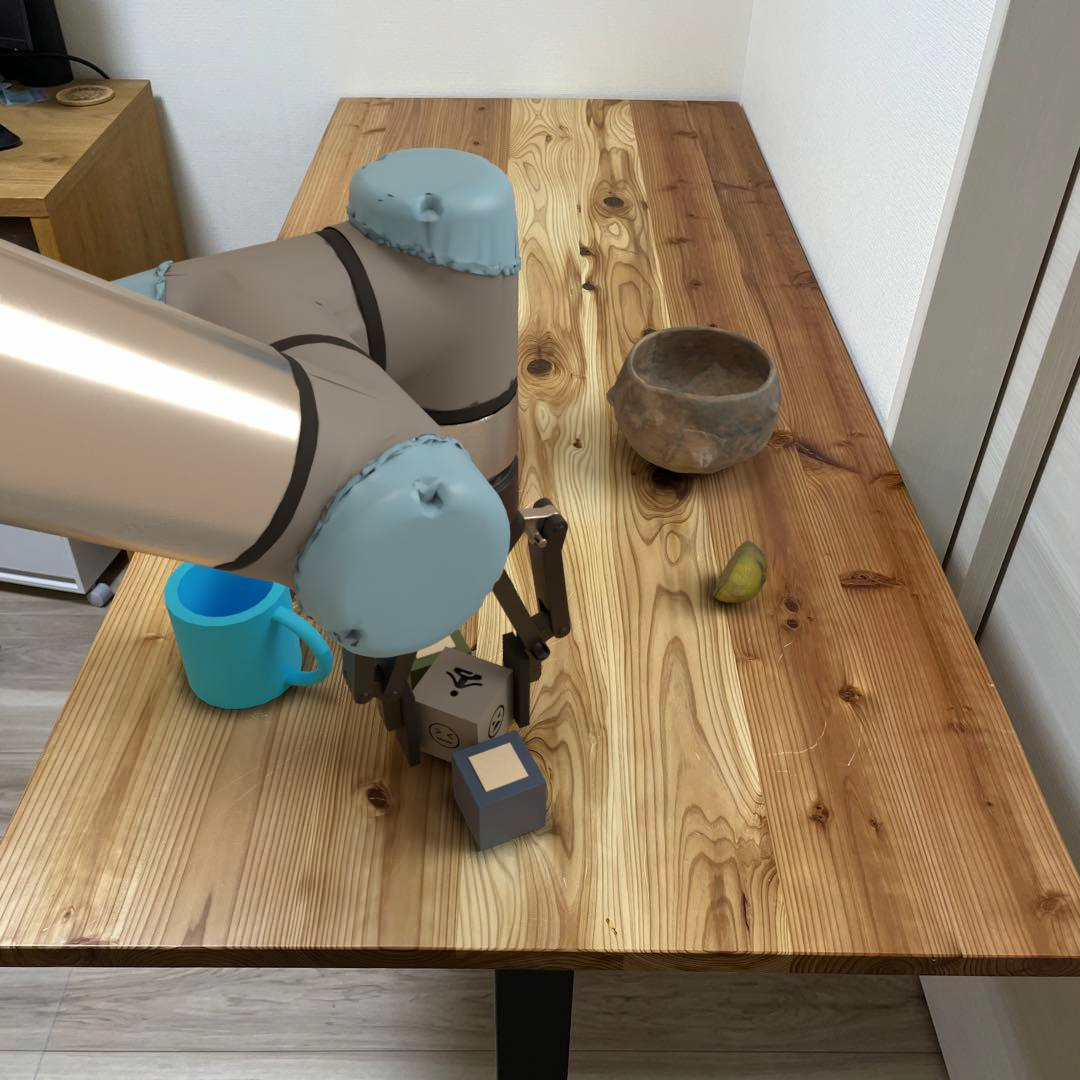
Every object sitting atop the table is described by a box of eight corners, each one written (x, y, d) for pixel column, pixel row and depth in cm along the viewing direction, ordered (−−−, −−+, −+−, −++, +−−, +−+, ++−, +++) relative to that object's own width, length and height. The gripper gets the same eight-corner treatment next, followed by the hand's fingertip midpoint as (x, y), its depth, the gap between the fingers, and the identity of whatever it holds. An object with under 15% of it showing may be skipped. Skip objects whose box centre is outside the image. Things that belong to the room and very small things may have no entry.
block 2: (480, 851, 66) (478, 807, 63) (453, 796, 69) (450, 751, 66) (545, 825, 68) (547, 781, 65) (516, 773, 71) (516, 728, 68)
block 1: (414, 715, 75) (409, 670, 72) (392, 672, 78) (387, 627, 75) (473, 695, 76) (472, 650, 73) (450, 653, 79) (447, 608, 76)
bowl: (580, 440, 100) (585, 346, 94) (708, 393, 107) (720, 303, 100) (672, 519, 91) (684, 422, 85) (805, 464, 98) (825, 369, 91)
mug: (164, 686, 76) (137, 603, 71) (234, 614, 82) (215, 532, 77) (304, 743, 73) (287, 660, 67) (368, 663, 78) (357, 581, 73)
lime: (717, 619, 82) (726, 570, 79) (697, 577, 86) (704, 530, 83) (772, 611, 83) (782, 563, 80) (750, 570, 87) (759, 522, 83)
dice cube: (514, 719, 73) (512, 669, 70) (480, 773, 69) (477, 723, 66) (449, 696, 74) (445, 646, 71) (413, 747, 71) (407, 698, 68)
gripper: (583, 378, 63) (571, 649, 78) (245, 460, 56) (303, 739, 71) (646, 445, 58) (621, 722, 73) (282, 545, 51) (336, 827, 66)
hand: (463, 730), depth 72 cm, fingers closed on dice cube, 7 cm apart
